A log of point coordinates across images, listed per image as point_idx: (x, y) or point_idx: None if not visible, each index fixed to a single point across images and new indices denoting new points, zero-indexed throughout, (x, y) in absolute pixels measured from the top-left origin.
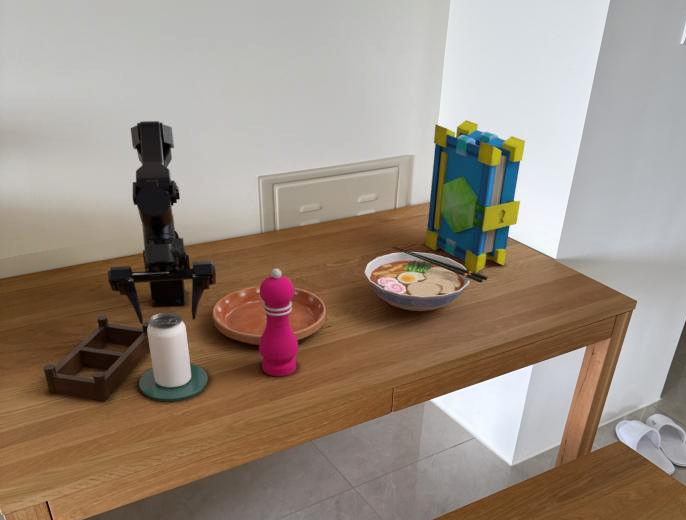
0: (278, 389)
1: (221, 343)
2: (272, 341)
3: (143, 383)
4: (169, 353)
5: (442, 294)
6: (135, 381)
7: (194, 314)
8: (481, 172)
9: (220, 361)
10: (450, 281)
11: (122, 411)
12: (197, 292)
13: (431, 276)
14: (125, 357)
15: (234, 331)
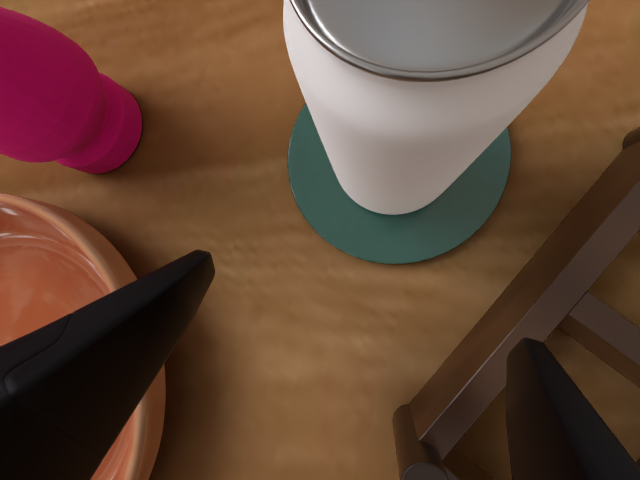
0: (145, 32)
1: (190, 329)
2: (5, 12)
3: (494, 167)
4: None
5: None
6: (511, 212)
7: (184, 256)
8: None
9: (228, 224)
10: None
11: (588, 54)
12: (3, 356)
13: None
14: (568, 269)
15: (115, 288)
